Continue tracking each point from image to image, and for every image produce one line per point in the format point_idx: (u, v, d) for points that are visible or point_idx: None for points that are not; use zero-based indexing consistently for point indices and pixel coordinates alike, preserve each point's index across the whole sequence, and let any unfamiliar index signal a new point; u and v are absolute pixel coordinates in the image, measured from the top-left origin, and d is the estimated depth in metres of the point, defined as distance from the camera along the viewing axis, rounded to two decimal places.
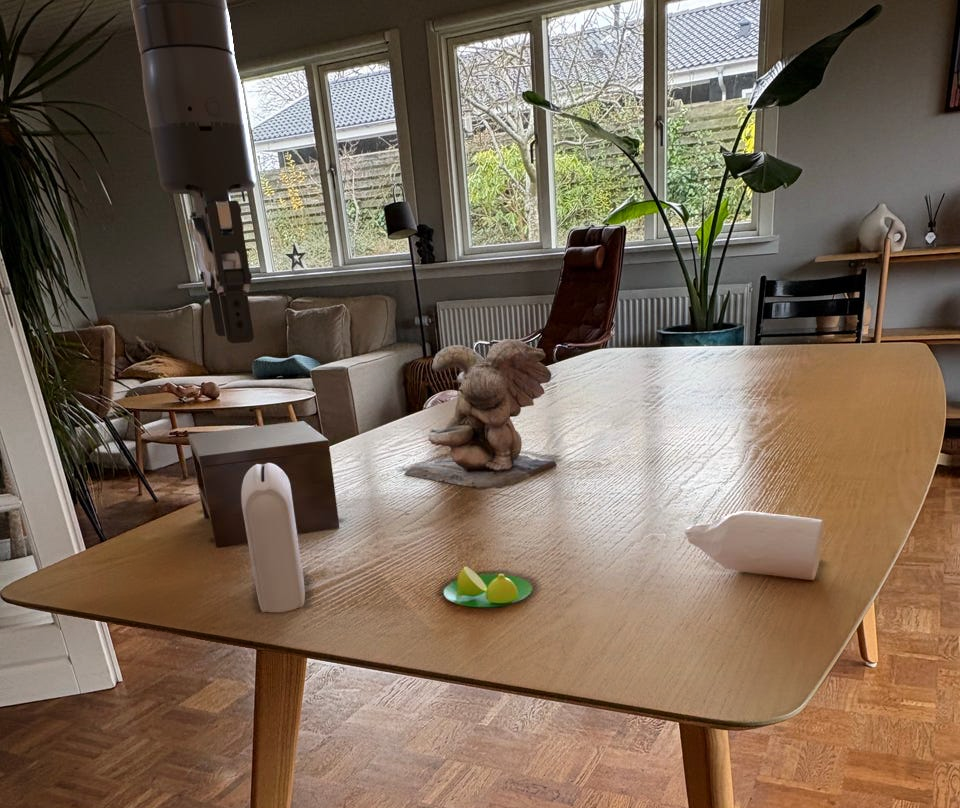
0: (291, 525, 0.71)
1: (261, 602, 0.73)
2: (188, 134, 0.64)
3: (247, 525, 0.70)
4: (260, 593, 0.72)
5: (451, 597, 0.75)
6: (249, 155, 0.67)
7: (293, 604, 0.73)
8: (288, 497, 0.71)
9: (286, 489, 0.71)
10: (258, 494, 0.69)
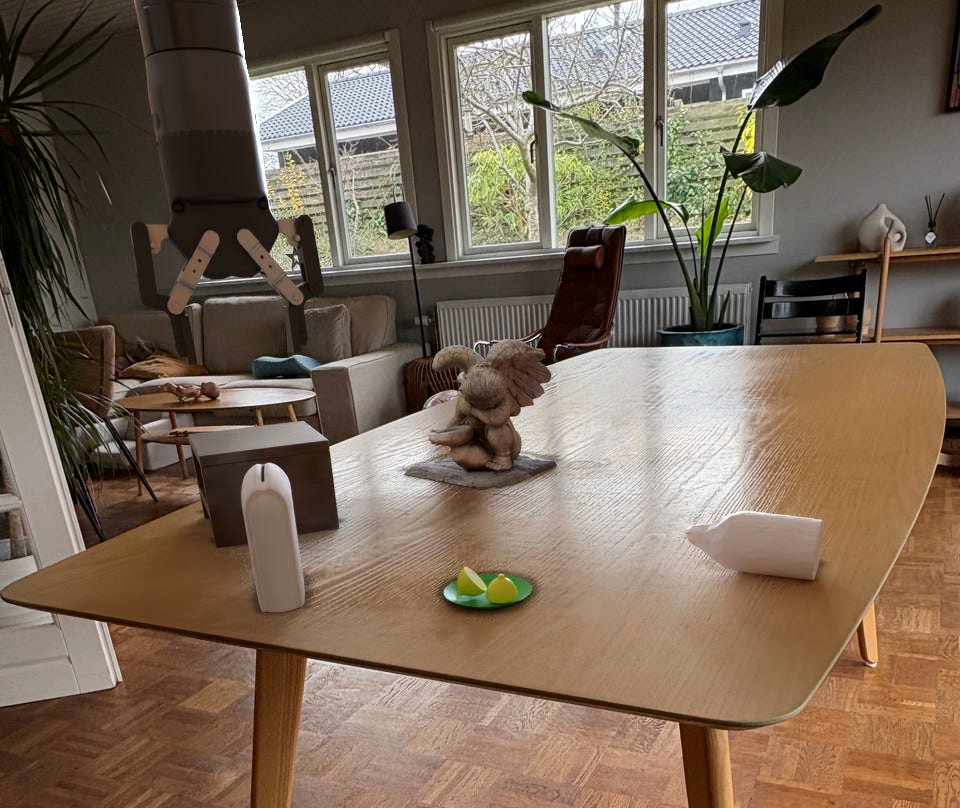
0: (291, 525, 0.71)
1: (261, 602, 0.73)
2: None
3: (247, 525, 0.70)
4: (260, 593, 0.72)
5: (451, 597, 0.75)
6: (195, 163, 0.60)
7: (293, 604, 0.73)
8: (288, 497, 0.71)
9: (286, 489, 0.71)
10: (258, 494, 0.69)
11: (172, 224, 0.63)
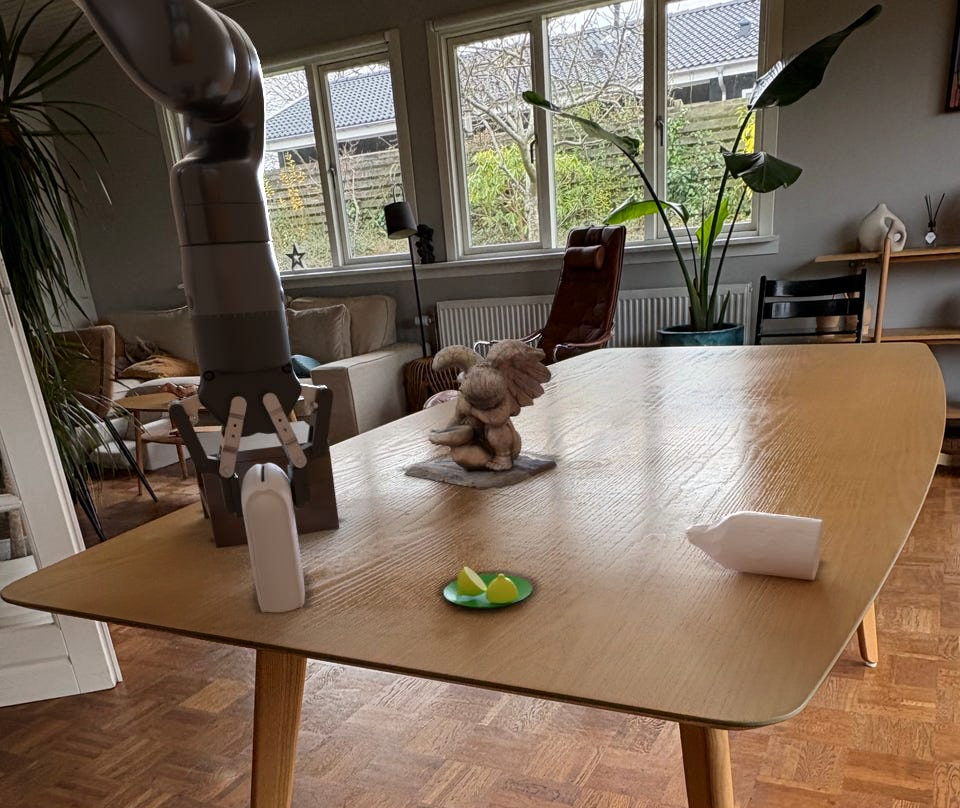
0: (291, 525, 0.71)
1: (261, 602, 0.73)
2: None
3: (247, 525, 0.70)
4: (260, 593, 0.72)
5: (451, 597, 0.75)
6: (225, 342, 0.65)
7: (293, 604, 0.73)
8: (288, 497, 0.71)
9: (286, 489, 0.71)
10: (258, 494, 0.69)
11: (202, 394, 0.68)
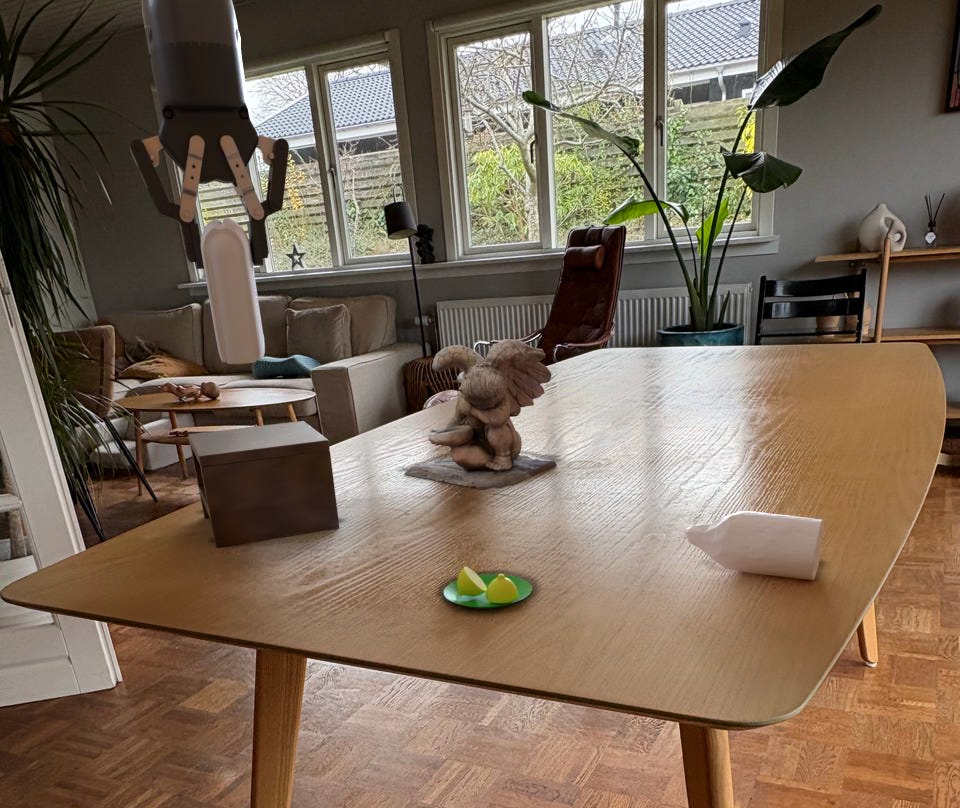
0: (248, 269, 0.75)
1: (220, 348, 0.76)
2: None
3: (205, 265, 0.74)
4: (219, 339, 0.76)
5: (451, 597, 0.75)
6: (182, 72, 0.68)
7: (251, 352, 0.77)
8: (245, 241, 0.74)
9: (243, 235, 0.75)
10: (215, 232, 0.73)
11: (162, 133, 0.71)
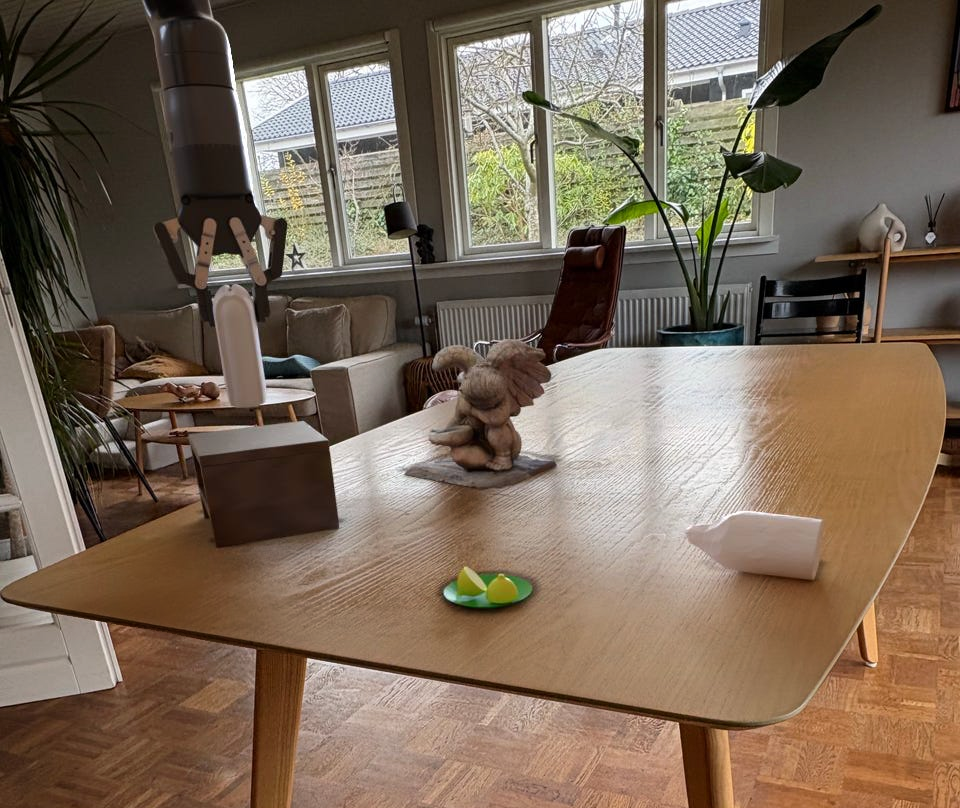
0: (253, 328, 0.88)
1: (229, 394, 0.90)
2: None
3: (217, 326, 0.87)
4: (228, 387, 0.89)
5: (451, 597, 0.75)
6: (198, 168, 0.82)
7: (255, 397, 0.90)
8: (250, 305, 0.88)
9: (249, 299, 0.88)
10: (225, 299, 0.86)
11: (180, 216, 0.85)
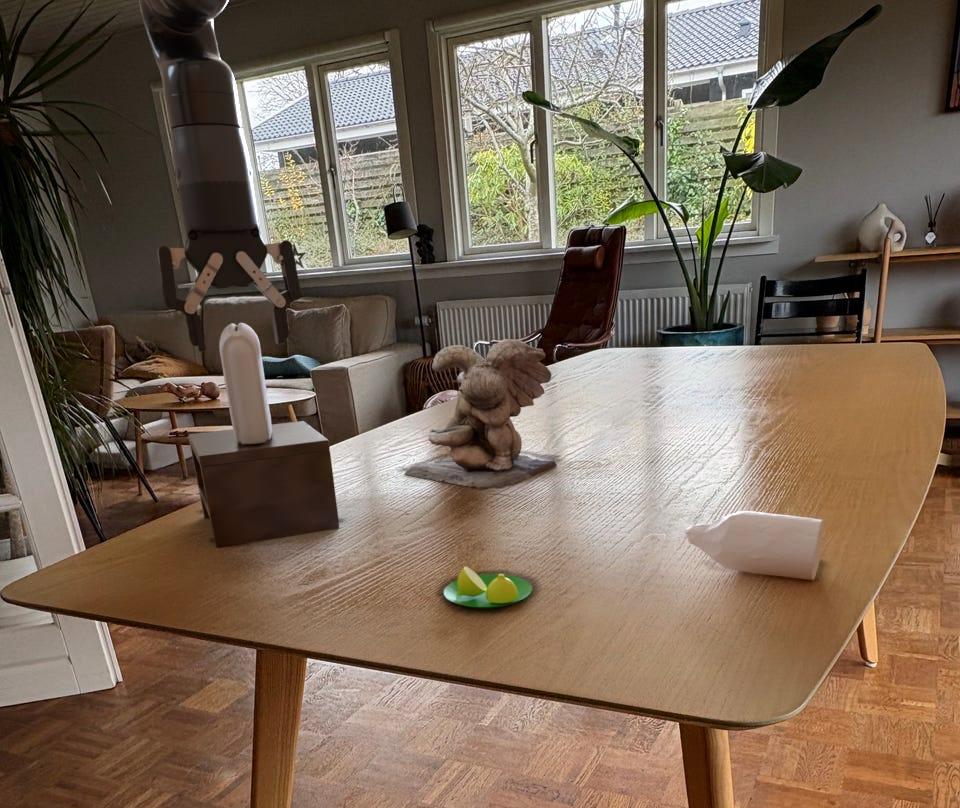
0: (259, 367, 0.90)
1: (235, 431, 0.91)
2: None
3: (224, 365, 0.89)
4: (235, 424, 0.91)
5: (451, 597, 0.75)
6: (205, 205, 0.83)
7: (261, 434, 0.92)
8: (256, 344, 0.89)
9: (255, 339, 0.90)
10: (232, 339, 0.88)
11: (188, 248, 0.86)
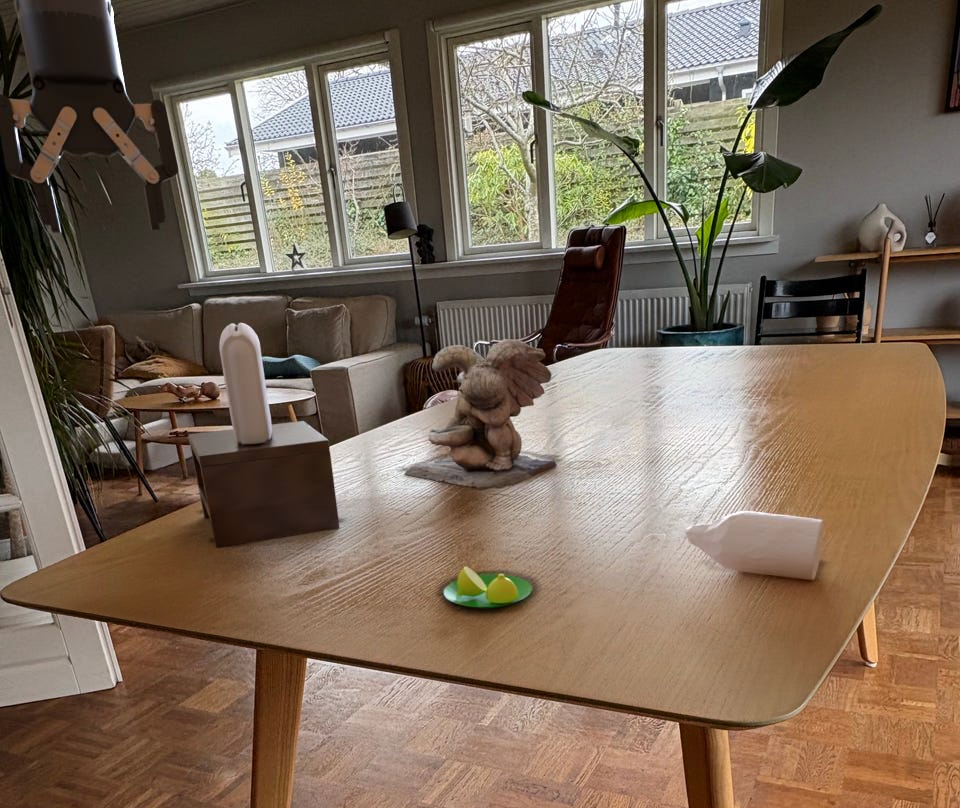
0: (259, 367, 0.90)
1: (235, 431, 0.91)
2: None
3: (224, 365, 0.89)
4: (235, 424, 0.91)
5: (451, 597, 0.75)
6: (49, 42, 0.68)
7: (261, 434, 0.92)
8: (256, 344, 0.89)
9: (255, 339, 0.90)
10: (232, 339, 0.88)
11: (33, 100, 0.71)
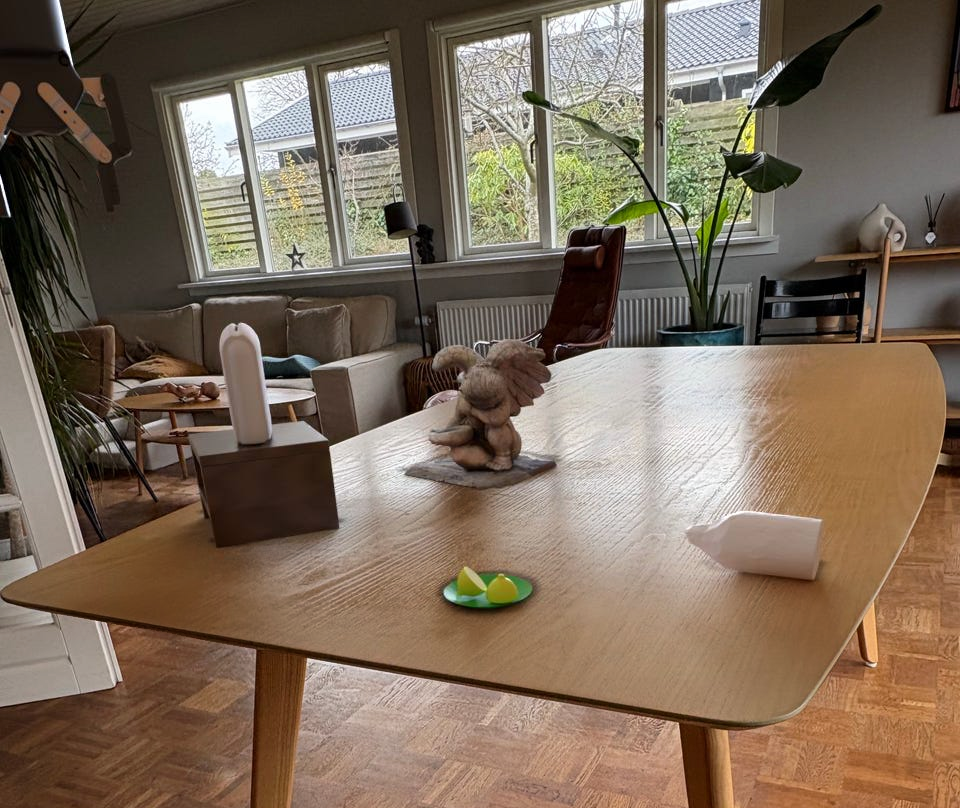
0: (259, 367, 0.90)
1: (235, 431, 0.91)
2: None
3: (224, 365, 0.89)
4: (235, 424, 0.91)
5: (451, 597, 0.75)
6: None
7: (261, 434, 0.92)
8: (256, 344, 0.89)
9: (255, 339, 0.90)
10: (232, 339, 0.88)
11: None
